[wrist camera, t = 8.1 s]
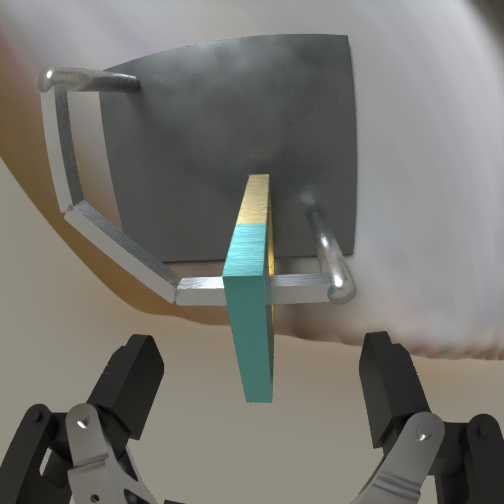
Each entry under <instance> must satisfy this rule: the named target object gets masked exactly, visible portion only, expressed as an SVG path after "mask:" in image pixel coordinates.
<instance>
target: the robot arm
mask: <svg viewBox="0 0 504 504" xmlns="http://www.w3.org/2000/svg"><path fill="white" fill-rule="evenodd" d="M163 374H164V363H163V360H162V357H161V355H160V353H159V350H158V348H157V346H156V343H155V341H154V339H153V337H152V336H150V335H138V334H133V335H132V336H131V337H130V339H129V340H128V342H127V344H126V346H121V347H120V348H119V349H118V350H117V351H116V352H114V354H113V355H112V357H111V358H110V360H109V362H108V365H107V366H106V367H105V369H104V371H103V373H102V374H101V376H100V378H99V380H98V382H97V384H96V385H95V387H94V389H93V391H92V393H91V395H90V397H89V399H88V400H87V402H86V403H82V404H78V405H76V406H74V407H73V408H71V409H70V411H69V412H68V413H52V412H51V411H50V410H49V409H48V407H47V406H45V405H43V404H35V405H33V406H32V407H30V408H29V409H28V411H27V412H26V413H25V416H24V417H23V419H22V421H21V423H20V426H19V427H18V429H17V431H16V433H15V436H14V438H13V440H12V442H11V444H10V446H9V449H8V451H7V453H6V455H5V457H4V460H3V462H2V465H1V467H0V504H69V502H70V499H71V495H72V494H73V497H74V501H75V504H157V502H156V500H155V498H154V497H153V495H152V494H151V493H150V491H149V490H148V489H147V488H146V486H145V485H144V483H143V481H142V479H141V476H140V474H139V472H138V469H137V467H136V465H135V462H134V460H133V457H132V455H131V452H130V449H129V447H128V445H127V442H128V439H129V438H131V439H135V440H139V439H140V436H141V434H142V431H143V428H144V425H145V422H146V420H147V417H148V414H149V411H150V409H151V406H152V404H153V401H154V398H155V395H156V393H157V390H158V388H159V385H160V382H161V380H162V377H163ZM359 374H360V379H361V384H362V388H363V394H364V399H365V403H366V409H367V414H368V419H369V425H370V431H371V436H372V442H373V448H374V449H375V448H380V447H383V452H384V456H383V457H382V459H381V461H380V462H379V464H378V465H377V467H376V468H375V470H374V472H373V473H372V475H371V476H370V478H369V479H368V481H367V482H366V484H365V485H364V486H363V488H362V489H361V491H360V492H359V494H358V495H357V496H356V497H355V499H354V500H353V501H352V502H351V503H350V504H417V503H418V501H419V498H420V495H421V493H420V488H421V486H422V484H423V482H424V480H425V478H426V476H427V475H434V477H435V484H436V492H437V501H438V504H504V439H503V436H502V433H501V430H500V427H499V424H498V422H497V421H496V419H495V418H493V417H492V416H491V415H488V414H479V415H477V416H475V417H473V418H472V419H471V420H470V422H469V423H450V422H444V421H442V420H441V418H440V417H438V416H437V415H436V414H433V413H432V412H431V411H430V408H429V406H428V403H427V400H426V397H425V394H424V391H423V389H422V386H421V383H420V380H419V378H418V375H417V372H416V370H415V367H414V366H413V362H412V359H411V357H410V354H409V352H408V351H407V350H406V349H405V348H404V347H403V346H402V345H401V344H400V343H399V344H392V343H391V340H390V338H389V335H388V333H387V332H386V331H382V332H373V333H366V335H365V339H364V343H363V348H362V352H361V357H360V361H359ZM47 448H49V449H51V450H52V452H51V454H50V457H49V460H48V462H47V465H46V467H45V470H44V473H43V475H42V476H41V475H40V471H39V469H40V465H41V463H42V460H43V457H44V455H45V453H46V450H47ZM164 504H184V503H179V502H174V501H169V500H165V501H164Z"/></svg>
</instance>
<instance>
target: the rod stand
mask: <svg viewBox="0 0 504 504" xmlns="http://www.w3.org/2000/svg"><path fill="white" fill-rule="evenodd" d="M38 88H39V90H40V91H41V104H42V115H43V124H44V132H45V139H46V145H47V151H48V157H49V162H50V168H51V173H52V177H53V182H54V187H55V191H56V195H57V199H58V203H59V207H60V211H61V213H62V212H66V214H65V216H64V219H65V220H67V221H68V222H69V223H70V224H71V225H72V226H73V227H74V228H76V229H77V230H78V231H79V232H80V233H81V234H83V235H84V236H85V237H86V238H87V239H88V240H90V241H91V242H92V243H93V244H94V245H96V246H97V247H98V248H99V249H100V250H102V251H103V252H104V253H105V254H106V255H108V256H109V257H110V258H111V259H113V260H114V261H115V262H116V263H118V264H119V265H120V266H121V267H123V268H124V269H125V270H127V271H128V272H129V273H130V274H132V275H133V276H134V277H136V278H137V279H138V280H140V281H141V282H142V283H144V284H145V285H146V286H148V287H149V288H150V289H152V290H153V291H154V292H156V293H157V294H158V295H160V296H161V297H163V298H164V299H165V300H167V301H168V302H170V303H172V302H173V301H174V300H175V299H176V303H177V305H227V302H226V297H225V291H224V285H223V280H222V277H199V278H182V277H180V276H179V275H178V274H176V273H175V272H174V271H172V270H171V269H170V268H168V267H167V266H166V265H164V264H163V263H162V262H167V261H193V260H218V259H227V255H228V252H229V248H230V244H231V241H232V237H233V233H234V230H235V226H236V222H237V219H238V215H239V212H240V208H241V204H242V201H243V197H244V194H245V190H246V187H247V183H248V180H249V176H250V175H260V174H269V180H270V195H271V211H272V228H273V245H274V257H289V256H311V255H317V256H318V260H319V264H320V268H321V272H322V273H310V274H288V275H270V290H271V304H293V303H313V302H333V303H335V304H345V303H347V302H349V301H350V300H352V299H353V297H354V296H355V294H356V286H355V284H354V281H353V279H352V276H351V274H350V271H349V269H348V266H347V264H346V262H345V259H344V257H343V255H342V254H353V247H354V232H355V211H356V126H355V106H354V91H353V79H352V68H351V59H350V50H349V42H348V36H346V35H329V34H280V35H263V36H251V37H241V38H233V39H225V40H218V41H212V42H206V43H201V44H195V45H190V46H185V47H181V48H176V49H172V50H168V51H164V52H160V53H156V54H152V55H149V56H145V57H142V58H139V59H135V60H132V61H129V62H126V63H123V64H120V65H117V66H114V67H111V68H109V69H106V70H103V71H99V70H92V69H84V68H74V67H63V66H46V67H45V68H44V69H43V70H42V71H41V73H40V75H39V77H38ZM69 91H92V92H99V98H100V107H101V116H102V123H103V131H104V138H105V144H106V150H107V156H108V162H109V167H110V173H111V178H112V183H113V188H114V192H115V197H116V202H117V206H118V210H119V214H120V219H121V223H122V227H123V231H124V233H123V232H122V231H121V230H120V229H118V228H117V227H116V226H115V225H113V224H112V223H111V222H110V221H109V220H107V219H106V218H105V217H104V216H102V215H101V214H100V213H99V212H98V211H96V210H95V209H94V208H93V207H92V206H91V205H89V204H88V203H87V202H86V201H85V200H84V197H83V193H82V189H81V184H80V180H79V175H78V170H77V165H76V159H75V154H74V148H73V141H72V135H71V128H70V120H69V111H68V101H67V92H69Z"/></svg>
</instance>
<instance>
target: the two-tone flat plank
mask: <svg viewBox="0 0 504 504" xmlns="http://www.w3.org/2000/svg"><path fill="white" fill-rule="evenodd" d="M270 275H275V264H274V245H273V228H272V211H271V195H270V180H269V174H260V175H250V176H249V180H248V183H247V187H246V190H245V194H244V197H243V201H242V204H241V208H240V212H239V215H238V219H237V222H236V226H235V230H234V233H233V237H232V241H231V244H230V248H229V252H228V255H227V259H226V263H225V267H224V270H223V274H222V280H223V285H224V291H225V297H226V302H227V307H228V313H229V318H230V323H231V328H232V334H233V339H234V344H235V349H236V354H237V359H238V364H239V369H240V373H241V379H242V383H243V388H244V393H245V397H246V402H259V403H261V402H264V403H268V402H269V403H270V402H271V403H272V391H273V389H272V388H273V358H274V310H275V304H271V290H270Z"/></svg>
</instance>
